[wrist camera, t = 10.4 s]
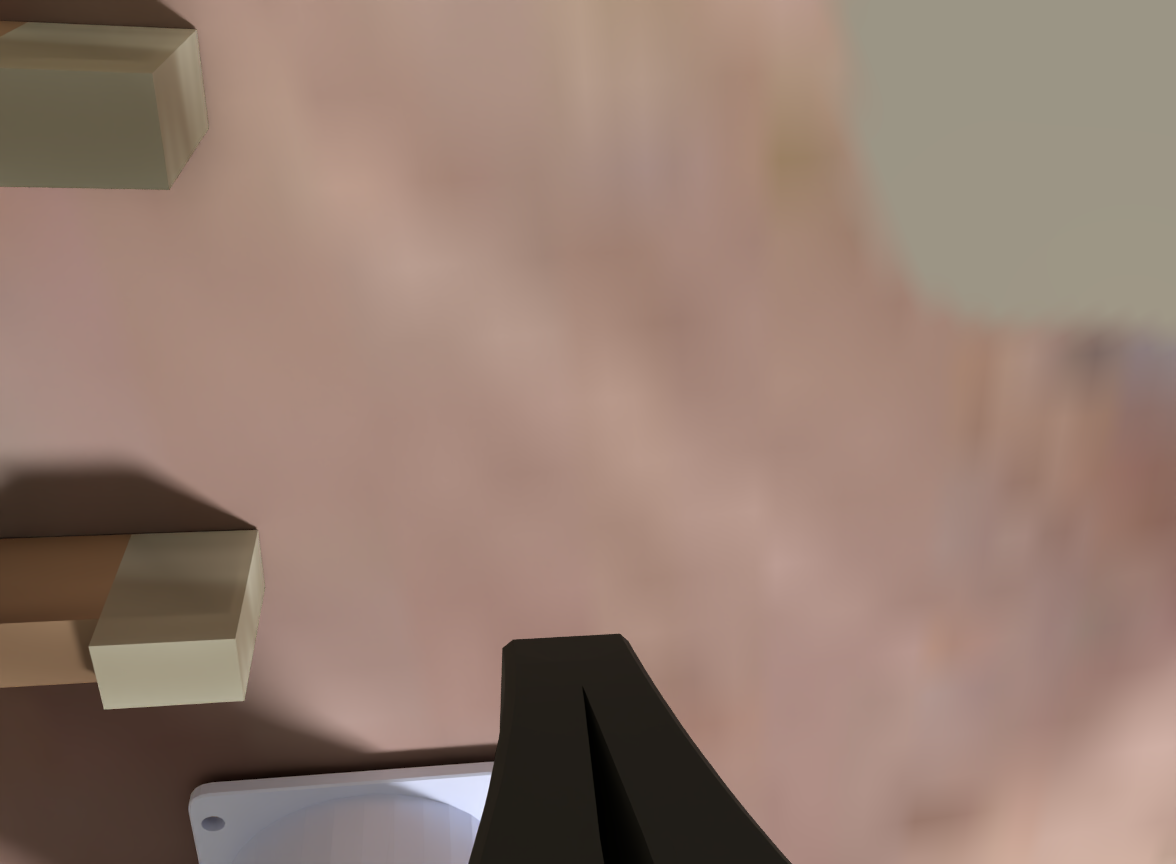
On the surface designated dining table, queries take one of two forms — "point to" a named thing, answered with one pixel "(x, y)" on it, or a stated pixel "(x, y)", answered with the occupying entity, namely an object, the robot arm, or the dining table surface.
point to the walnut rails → (131, 561)
